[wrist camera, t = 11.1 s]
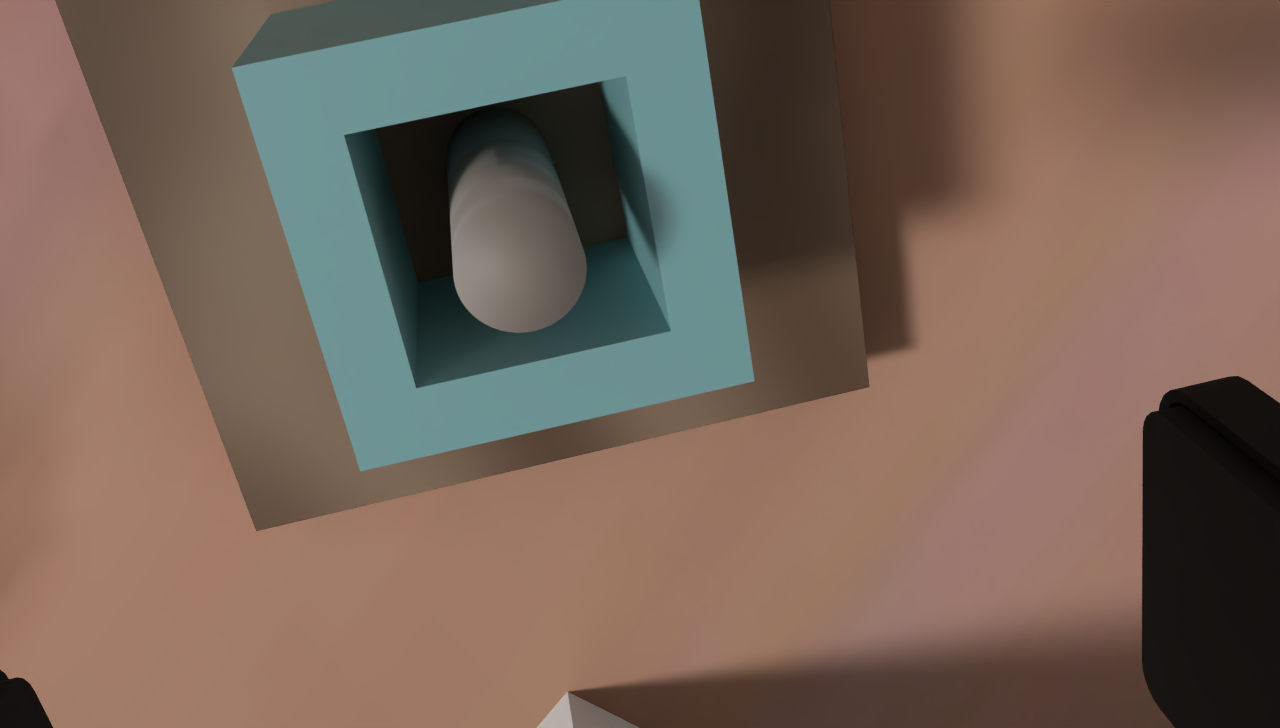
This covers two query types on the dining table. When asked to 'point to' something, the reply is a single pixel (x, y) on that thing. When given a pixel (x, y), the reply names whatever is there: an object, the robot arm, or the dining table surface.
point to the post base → (467, 234)
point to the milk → (581, 715)
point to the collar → (431, 310)
